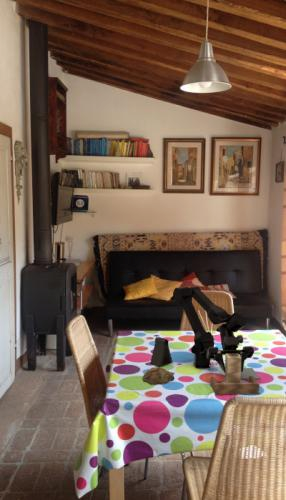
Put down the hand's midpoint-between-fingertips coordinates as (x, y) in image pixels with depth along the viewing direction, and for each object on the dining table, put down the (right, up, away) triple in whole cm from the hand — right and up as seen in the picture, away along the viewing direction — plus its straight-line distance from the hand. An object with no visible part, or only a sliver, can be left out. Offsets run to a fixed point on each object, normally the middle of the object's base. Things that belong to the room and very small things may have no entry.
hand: (233, 372), depth 176 cm
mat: (+7, -5, +15) cm, 18 cm away
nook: (0, -7, 0) cm, 7 cm away
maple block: (0, -6, +2) cm, 7 cm away
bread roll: (-30, -6, +10) cm, 32 cm away
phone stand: (-28, -4, +28) cm, 40 cm away
